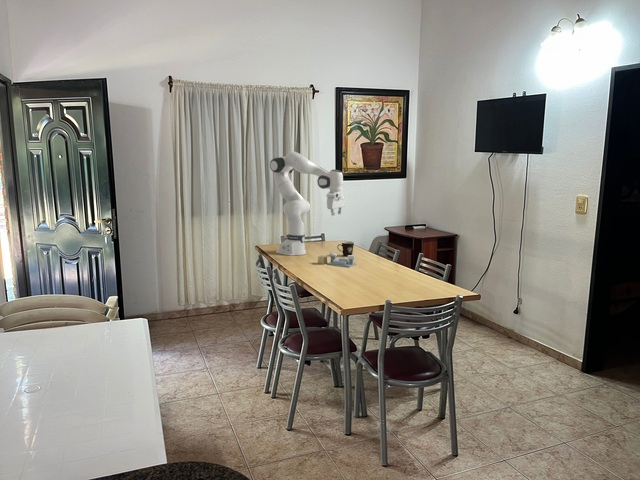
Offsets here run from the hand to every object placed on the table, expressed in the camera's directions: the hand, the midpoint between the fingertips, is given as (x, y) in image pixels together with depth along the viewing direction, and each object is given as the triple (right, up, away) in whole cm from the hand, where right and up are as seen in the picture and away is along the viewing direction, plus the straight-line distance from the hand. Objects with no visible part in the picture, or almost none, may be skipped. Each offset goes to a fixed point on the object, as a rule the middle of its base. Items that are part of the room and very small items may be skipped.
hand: (336, 214), depth 335 cm
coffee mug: (+7, -29, +23) cm, 37 cm away
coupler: (-9, -33, -3) cm, 34 cm away
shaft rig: (+4, -33, -5) cm, 34 cm away
